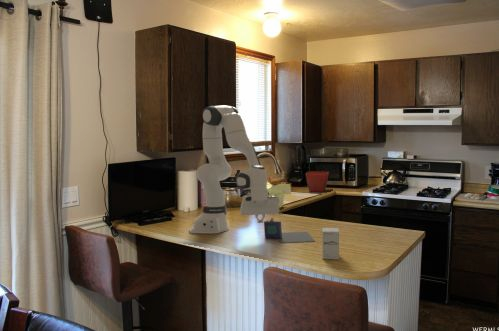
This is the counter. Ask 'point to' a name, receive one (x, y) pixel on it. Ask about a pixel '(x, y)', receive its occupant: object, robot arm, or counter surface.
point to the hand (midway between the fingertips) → (260, 222)
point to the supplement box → (330, 243)
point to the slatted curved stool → (279, 191)
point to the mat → (295, 237)
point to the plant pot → (317, 181)
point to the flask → (272, 229)
